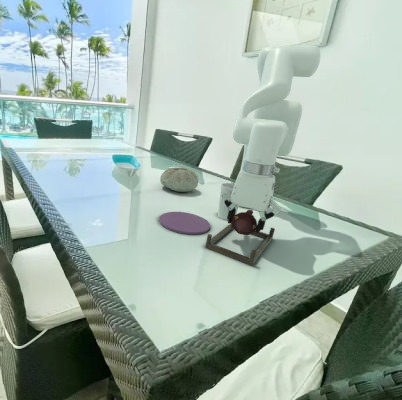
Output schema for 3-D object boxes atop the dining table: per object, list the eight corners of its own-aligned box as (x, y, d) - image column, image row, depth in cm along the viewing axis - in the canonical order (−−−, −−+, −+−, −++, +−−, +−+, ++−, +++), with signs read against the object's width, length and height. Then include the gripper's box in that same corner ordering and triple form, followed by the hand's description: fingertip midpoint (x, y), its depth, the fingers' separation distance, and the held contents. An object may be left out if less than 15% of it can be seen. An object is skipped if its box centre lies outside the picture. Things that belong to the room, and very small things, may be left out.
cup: (241, 217, 102) (248, 187, 98) (232, 223, 96) (239, 190, 92) (220, 211, 107) (227, 181, 103) (211, 215, 101) (217, 185, 97)
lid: (175, 210, 104) (175, 208, 104) (217, 224, 94) (218, 222, 94) (149, 222, 92) (149, 220, 91) (195, 240, 82) (195, 237, 81)
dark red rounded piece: (260, 227, 71) (264, 213, 84) (233, 213, 74) (241, 202, 87) (247, 248, 74) (253, 231, 87) (222, 234, 77) (231, 220, 89)
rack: (230, 226, 94) (233, 215, 92) (272, 239, 86) (275, 228, 85) (204, 247, 78) (207, 234, 77) (252, 266, 70) (255, 252, 69)
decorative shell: (170, 196, 120) (173, 174, 117) (152, 184, 135) (155, 164, 132) (204, 194, 126) (207, 173, 123) (183, 183, 142) (186, 164, 139)
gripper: (296, 173, 72) (278, 232, 78) (231, 160, 82) (220, 214, 88) (290, 178, 67) (272, 241, 73) (221, 164, 77) (211, 220, 83)
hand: (244, 226), depth 81 cm, fingers closed on dark red rounded piece, 7 cm apart
